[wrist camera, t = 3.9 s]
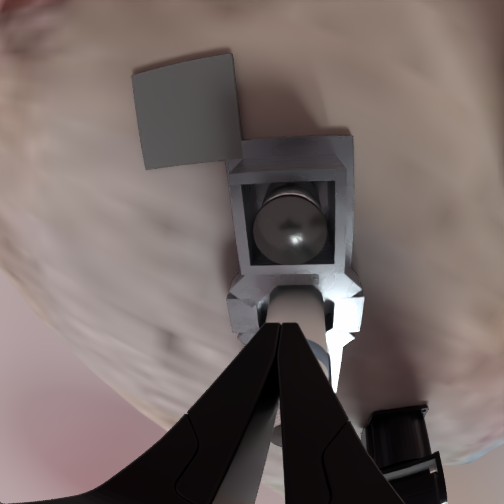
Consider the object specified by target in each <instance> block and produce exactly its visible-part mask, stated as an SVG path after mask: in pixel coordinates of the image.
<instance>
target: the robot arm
mask: <svg viewBox="0 0 504 504" xmlns="http://www.w3.org/2000/svg"><path fill="white" fill-rule="evenodd" d="M278 405H280V420H281V436H282V452H283V469H284V487H285V504H447V492H446V485H445V479H444V473H443V468H442V464H441V459H440V454H439V451H437V452H434V453H433V454H432V453H431V448H430V443H429V438H428V433H427V429H426V424H425V420H424V417H425V415H426V413H427V412H428V410H429V408H428V405H424V406H418V407H411V408H404V409H396V410H388V411H379V412H374V413H372V414H371V417H370V419H369V422H368V425H366V426H365V427H364V430H363V432H362V435H361V440H360V438H359V437H358V435H357V433H356V431H355V429H354V427H353V426H352V424H351V422H350V421H348V420H349V418H348V416H347V415H346V413H345V411H344V409H343V407H342V405H341V403H340V401H339V399H338V397H337V396H336V394H335V392H334V390H333V388H332V386H331V384H330V382H329V380H328V379H327V377H326V375H325V373H324V371H323V369H322V367H321V365H320V363H319V362H318V360H317V358H316V356H315V354H314V352H313V350H312V348H311V347H310V345H309V343H308V341H307V339H306V337H305V335H304V333H303V332H302V330H301V328H300V326H299V324H298V323H296V322H284V323H282V324H280V323H278V322H266V323H264V324H263V325H262V326H261V328H260V329H259V330H258V331H257V332H256V334H255V335H254V336H253V337H252V338H251V340H250V341H249V342H248V343H247V344H246V346H245V347H244V348H243V349H242V350H241V351H240V353H239V354H238V355H237V356H236V357H235V358H234V360H233V361H232V362H231V363H230V364H229V365H228V367H227V368H226V369H225V370H224V371H223V372H222V373H221V375H220V376H219V377H218V378H217V379H216V380H215V381H214V383H213V384H212V385H211V386H210V387H209V388H208V389H207V390H206V392H205V393H204V394H203V395H202V396H201V397H200V398H199V399H198V400H197V402H196V403H195V404H194V405H193V406H192V407H191V408H190V409H189V410H188V411H187V413H188V414H184V415H183V417H182V418H181V419H180V420H179V421H178V422H177V423H176V424H175V425H174V426H173V427H172V428H171V429H170V430H169V431H168V432H167V433H166V434H165V435H164V436H163V437H162V438H161V439H160V440H159V441H157V442H156V443H155V444H154V445H153V446H152V447H150V448H149V449H148V450H147V451H146V452H145V453H143V454H142V455H141V456H139V457H138V458H137V459H136V460H134V461H133V462H132V463H131V464H129V465H128V466H126V467H125V468H124V469H122V470H121V471H120V472H118V473H117V474H116V475H114V476H113V477H112V478H110V479H109V480H108V481H106V482H105V483H103V484H102V485H100V486H98V487H97V488H95V489H93V490H90V491H88V492H86V493H82V494H79V495H75V496H70V497H64V498H58V499H51V500H43V501H35V502H24V503H11V504H255V500H256V496H257V493H258V489H259V485H260V482H261V478H262V474H263V470H264V466H265V462H266V458H267V454H268V450H269V445H270V441H271V437H272V433H273V428H274V424H275V419H276V415H277V410H278ZM433 470H436V472H433V473H430V471H433ZM0 504H3V503H1V502H0Z"/></svg>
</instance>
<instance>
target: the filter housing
mask: <svg viewBox="0 0 504 504" xmlns="http://www.w3.org/2000/svg"><path fill="white" fill-rule="evenodd" d="M241 145H242V154H243V159H232V160H225V162H226V170H227V178H228V186H229V193H230V201H231V208H232V216H233V223H234V231H235V238H236V245H237V253H238V260H239V267H240V272H239V273H238V274H237V275H236V276H235V277H234V278H233V281H232V284H231V287H230V290H229V293H228V296H227V305H228V310H229V315H230V321H231V326H232V331H233V332H235V333H239V334H238V338H237V339H239V340H240V341H241V342H243V343H245V344H247V343H248V342H249V341H250V340H251V338H252V337H253V336H254V335H255V334H256V332H257V331H258V330H259V329H260V328H261V326H262V325H263V324H264V323H266V317H267V311H268V304H269V298H270V294H271V292H272V290H273V289H274V288H275V287H276V286H277V285H313V286H314V287H315V288H317V289H318V290H319V291H320V292H321V293H322V295H323V303H324V315H325V328H326V343H327V355H328V361H329V378H328V380H329V382H330V384H331V386H332V388H333V390H334V392H335V393H336V389H337V383H338V377H339V371H340V364H341V357H342V350H343V346H344V345H346V344H347V343H349V342H350V341H351V340H353V339H354V338H355V335H354V332H359V331H360V325H361V319H362V312H363V305H364V293H363V290H362V286H361V283H360V282H359V278H358V275H357V274H356V273H355V272H354V271H353V270H352V269H351V261H352V243H353V218H354V146H353V136H352V135H322V136H292V137H274V138H260V139H248V140H242V141H241ZM237 148H238V147H237ZM298 181H310V182H311V183H312V184H313V185H314V186H315V188H316V190H317V192H318V195H319V200H320V204H321V209H322V214H323V216H324V218H325V223H326V227H327V237H326V241H325V244H324V246H323V248H322V249H321V251H320V252H319V253H318V254H317V255H316V256H315V257H314V258H313V259H311V260H309V261H307V262H305V263H302V264H298V265H283V264H279V263H276V262H274V261H272V260H270V259H268V258H267V257H266V256H265V255H264V254H262V252H261V251H260V250H259V248H258V247H257V245H256V243H255V240H254V235H253V227H254V222H255V219H256V216H257V214H258V212H259V210H260V208H261V205H262V202H263V200H264V197H265V194H266V191H267V189H268V187H269V186H270V184H271V183H275V182H298Z"/></svg>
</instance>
